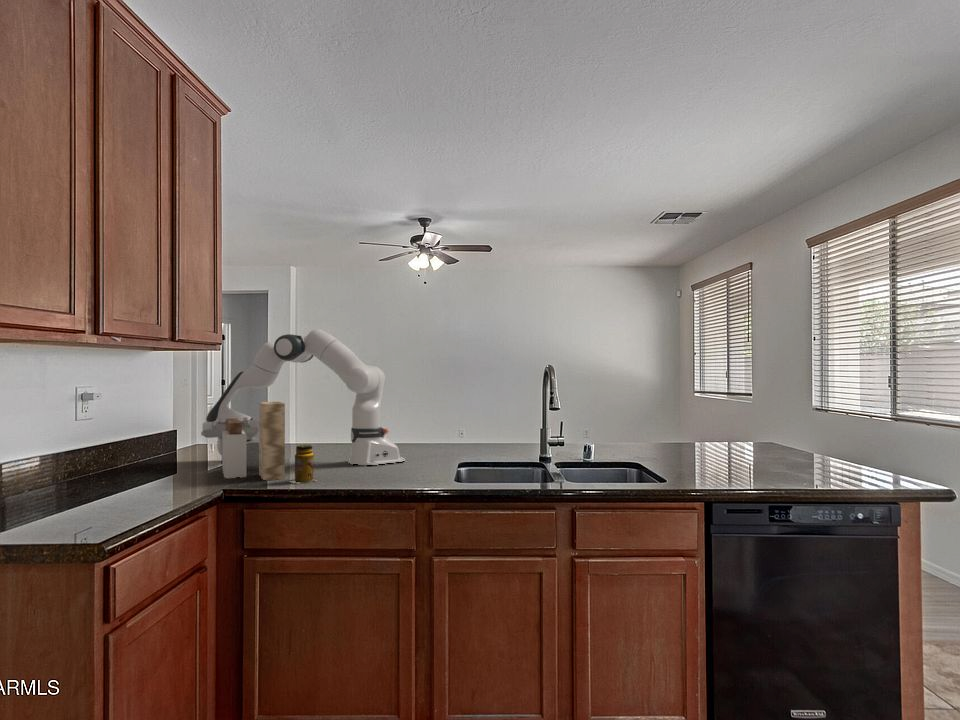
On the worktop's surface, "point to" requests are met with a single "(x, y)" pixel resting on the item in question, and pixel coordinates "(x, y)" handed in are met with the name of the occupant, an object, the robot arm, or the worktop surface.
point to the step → (234, 455)
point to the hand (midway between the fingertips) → (232, 419)
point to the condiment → (304, 464)
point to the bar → (233, 426)
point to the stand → (272, 440)
